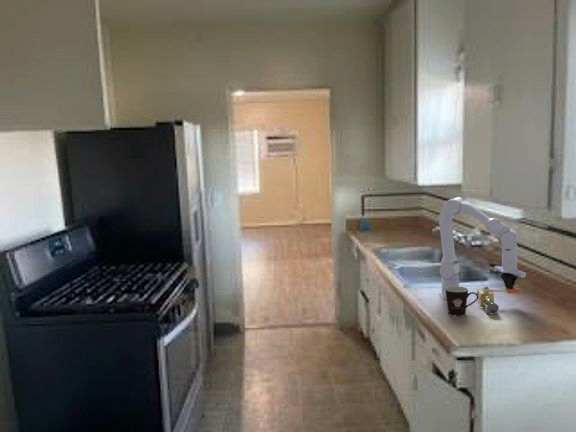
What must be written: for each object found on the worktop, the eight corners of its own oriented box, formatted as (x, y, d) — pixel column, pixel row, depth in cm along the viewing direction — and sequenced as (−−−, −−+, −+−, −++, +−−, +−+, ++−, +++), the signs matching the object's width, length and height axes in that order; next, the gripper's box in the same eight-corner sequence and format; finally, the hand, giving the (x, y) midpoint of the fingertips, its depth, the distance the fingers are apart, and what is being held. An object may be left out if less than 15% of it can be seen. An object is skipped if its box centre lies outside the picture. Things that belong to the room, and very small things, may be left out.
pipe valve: (475, 300, 221) (475, 286, 220) (487, 300, 220) (487, 286, 220) (486, 315, 201) (486, 300, 200) (500, 315, 200) (500, 300, 200)
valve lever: (482, 292, 211) (482, 288, 211) (482, 290, 214) (482, 286, 213) (519, 293, 207) (519, 289, 207) (518, 291, 210) (518, 287, 210)
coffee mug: (442, 314, 205) (441, 290, 203) (450, 308, 211) (449, 285, 210) (471, 319, 198) (471, 294, 196) (478, 313, 204) (478, 288, 203)
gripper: (488, 257, 215) (488, 288, 217) (516, 263, 202) (516, 296, 204) (501, 254, 218) (501, 286, 220) (529, 261, 205) (529, 294, 207)
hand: (509, 291), depth 212 cm, fingers closed
